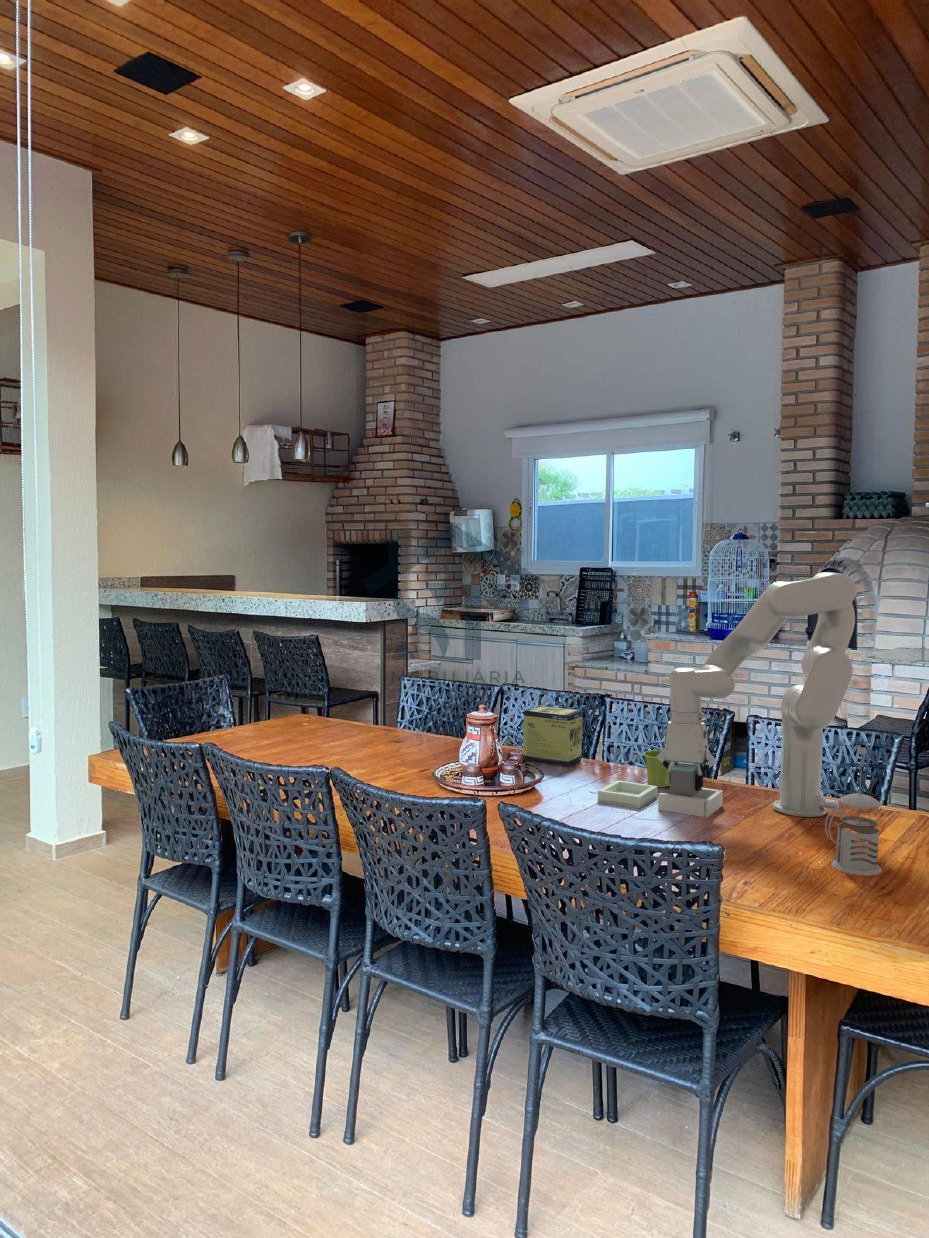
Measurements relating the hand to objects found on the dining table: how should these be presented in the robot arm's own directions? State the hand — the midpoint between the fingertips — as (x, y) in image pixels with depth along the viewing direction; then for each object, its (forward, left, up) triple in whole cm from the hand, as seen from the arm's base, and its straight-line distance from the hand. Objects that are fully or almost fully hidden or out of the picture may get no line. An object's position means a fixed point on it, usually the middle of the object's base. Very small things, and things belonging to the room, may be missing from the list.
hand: (686, 787), depth 236 cm
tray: (+15, +1, -5) cm, 16 cm away
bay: (-1, 0, -5) cm, 5 cm away
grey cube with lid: (0, 0, -1) cm, 1 cm away
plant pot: (+13, -18, -5) cm, 22 cm away
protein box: (+51, -28, -5) cm, 58 cm away
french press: (-43, +25, -5) cm, 50 cm away
